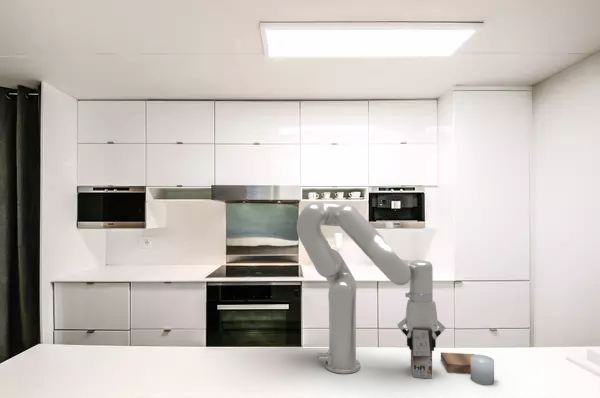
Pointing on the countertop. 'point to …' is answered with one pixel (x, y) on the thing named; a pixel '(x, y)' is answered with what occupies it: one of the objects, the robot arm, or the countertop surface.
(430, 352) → the coffee box
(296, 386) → the countertop surface
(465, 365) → the walnut slab
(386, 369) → the countertop surface
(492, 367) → the pale grey rounded cylinder
